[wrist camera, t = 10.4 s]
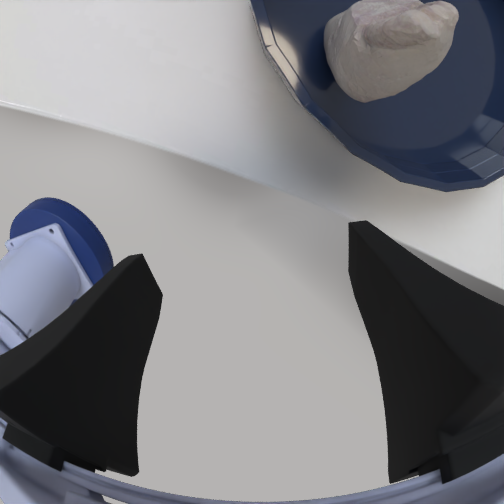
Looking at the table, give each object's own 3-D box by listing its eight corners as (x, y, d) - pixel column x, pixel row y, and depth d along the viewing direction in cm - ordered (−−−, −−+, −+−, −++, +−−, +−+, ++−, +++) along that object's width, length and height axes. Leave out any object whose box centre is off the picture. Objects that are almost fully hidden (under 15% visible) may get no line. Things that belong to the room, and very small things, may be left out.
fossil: (345, 100, 15) (431, 138, 7) (294, 72, 14) (336, 68, 6) (385, 31, 12) (494, 16, 3) (337, 1, 11) (413, -57, 3)
